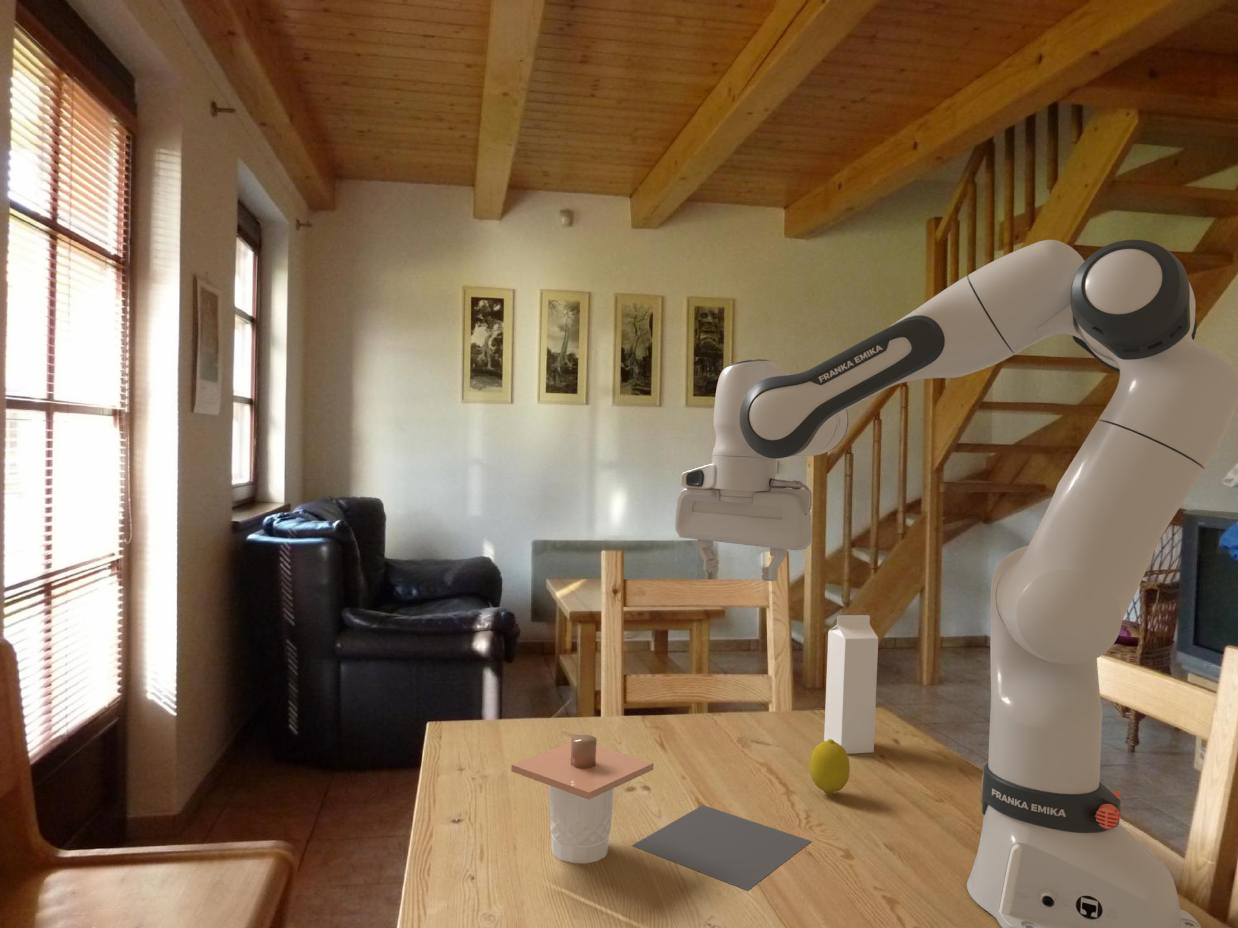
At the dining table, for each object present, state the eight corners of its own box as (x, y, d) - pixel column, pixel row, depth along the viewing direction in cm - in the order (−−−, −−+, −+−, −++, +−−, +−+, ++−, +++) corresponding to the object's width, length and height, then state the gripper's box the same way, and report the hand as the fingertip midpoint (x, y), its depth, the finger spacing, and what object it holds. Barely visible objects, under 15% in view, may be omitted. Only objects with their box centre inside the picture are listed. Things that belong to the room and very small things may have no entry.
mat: (811, 844, 108) (811, 840, 108) (747, 893, 96) (747, 890, 96) (702, 807, 118) (702, 804, 118) (631, 848, 105) (631, 845, 105)
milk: (823, 742, 146) (827, 611, 146) (856, 740, 148) (860, 611, 147) (841, 754, 140) (845, 619, 140) (875, 752, 142) (879, 618, 141)
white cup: (557, 834, 109) (559, 755, 108) (618, 842, 107) (621, 761, 107) (538, 863, 101) (541, 778, 101) (604, 872, 99) (607, 786, 99)
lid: (653, 769, 105) (654, 738, 105) (588, 799, 95) (589, 765, 95) (578, 745, 112) (579, 716, 112) (511, 771, 103) (512, 739, 103)
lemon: (849, 804, 121) (852, 747, 120) (808, 800, 122) (811, 743, 122) (847, 789, 126) (849, 735, 126) (808, 785, 127) (810, 731, 127)
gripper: (822, 481, 117) (818, 583, 118) (694, 473, 130) (691, 565, 130) (801, 481, 112) (797, 588, 113) (670, 474, 125) (667, 569, 125)
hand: (739, 576), depth 121 cm, fingers open, 8 cm apart
